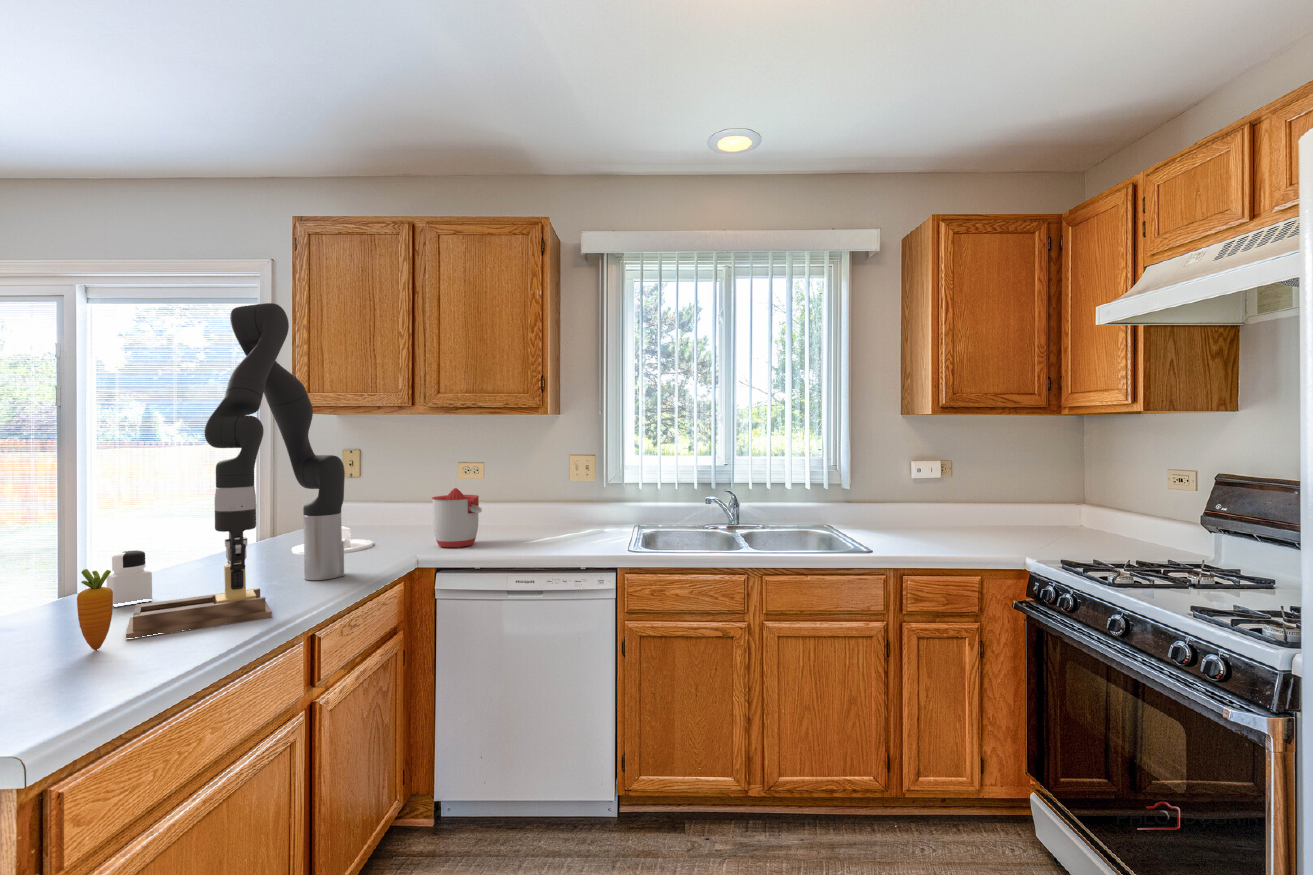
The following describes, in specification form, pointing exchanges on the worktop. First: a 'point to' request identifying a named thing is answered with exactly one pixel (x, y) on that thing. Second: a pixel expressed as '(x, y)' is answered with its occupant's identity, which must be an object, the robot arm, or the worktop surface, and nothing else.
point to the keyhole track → (194, 614)
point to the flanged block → (233, 594)
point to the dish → (349, 543)
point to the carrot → (95, 608)
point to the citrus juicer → (455, 519)
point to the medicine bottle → (129, 577)
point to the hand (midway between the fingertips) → (236, 586)
